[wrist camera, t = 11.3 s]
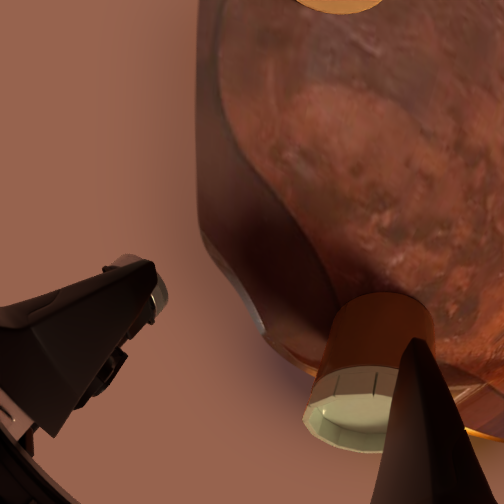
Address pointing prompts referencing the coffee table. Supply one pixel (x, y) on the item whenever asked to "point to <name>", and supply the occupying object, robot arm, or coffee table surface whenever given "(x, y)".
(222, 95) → the coffee table surface
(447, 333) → the coffee table surface
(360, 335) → the jar
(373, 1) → the coaster
